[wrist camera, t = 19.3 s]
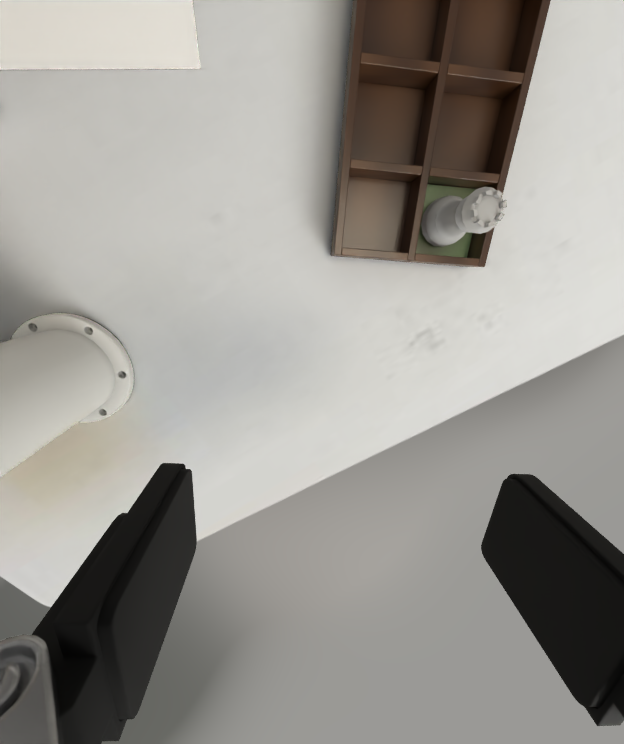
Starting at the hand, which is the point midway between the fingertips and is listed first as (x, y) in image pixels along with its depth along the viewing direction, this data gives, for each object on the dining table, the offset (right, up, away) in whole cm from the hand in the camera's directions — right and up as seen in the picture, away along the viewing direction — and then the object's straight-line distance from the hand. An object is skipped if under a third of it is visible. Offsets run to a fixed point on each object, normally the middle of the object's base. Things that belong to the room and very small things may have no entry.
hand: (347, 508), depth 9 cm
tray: (+9, +26, +19) cm, 34 cm away
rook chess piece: (+12, +19, +21) cm, 31 cm away
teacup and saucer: (-21, +39, +13) cm, 46 cm away
